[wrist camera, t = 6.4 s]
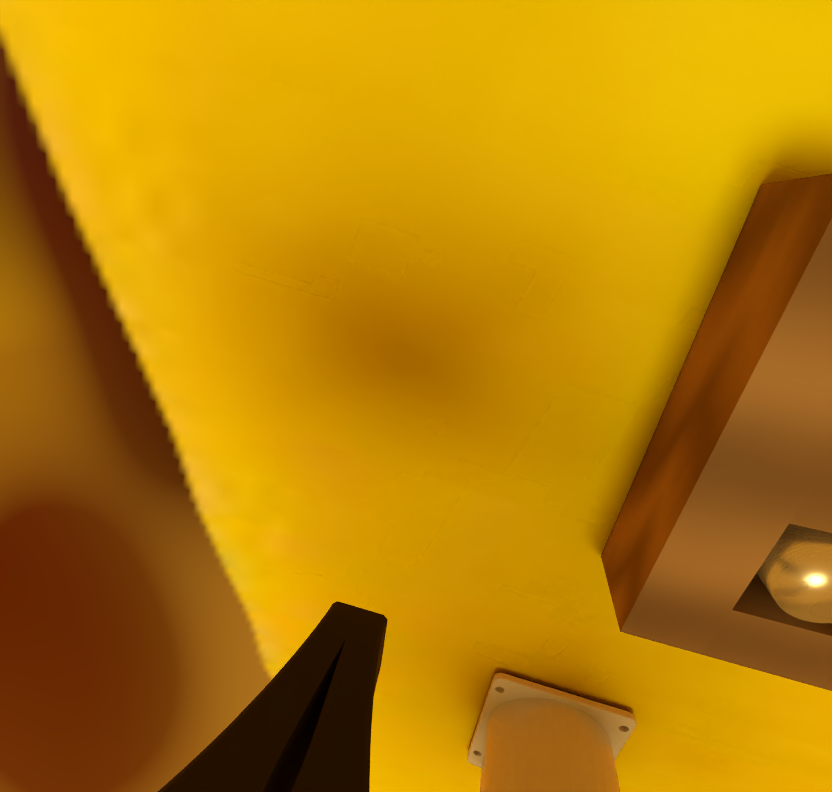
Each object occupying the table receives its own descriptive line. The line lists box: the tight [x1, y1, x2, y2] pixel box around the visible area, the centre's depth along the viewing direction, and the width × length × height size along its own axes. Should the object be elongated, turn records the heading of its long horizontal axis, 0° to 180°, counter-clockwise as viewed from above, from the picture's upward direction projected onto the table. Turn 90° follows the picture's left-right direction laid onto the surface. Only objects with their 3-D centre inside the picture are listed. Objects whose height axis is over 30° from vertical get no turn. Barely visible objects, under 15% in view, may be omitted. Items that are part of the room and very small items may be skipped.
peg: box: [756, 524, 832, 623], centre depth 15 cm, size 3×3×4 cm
